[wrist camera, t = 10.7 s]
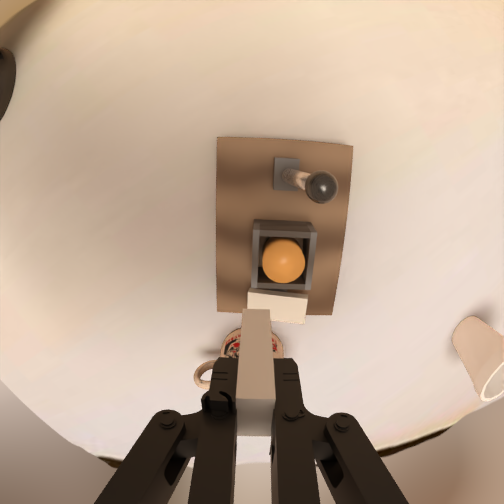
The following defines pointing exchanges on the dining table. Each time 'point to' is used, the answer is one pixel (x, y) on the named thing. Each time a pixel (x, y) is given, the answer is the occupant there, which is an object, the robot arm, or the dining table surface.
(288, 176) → the toggle lever
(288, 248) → the push button
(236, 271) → the switch panel
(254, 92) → the dining table surface
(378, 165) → the dining table surface
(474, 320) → the foam cup
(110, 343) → the dining table surface
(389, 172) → the dining table surface
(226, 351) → the teacup with lid
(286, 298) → the rocker switch
